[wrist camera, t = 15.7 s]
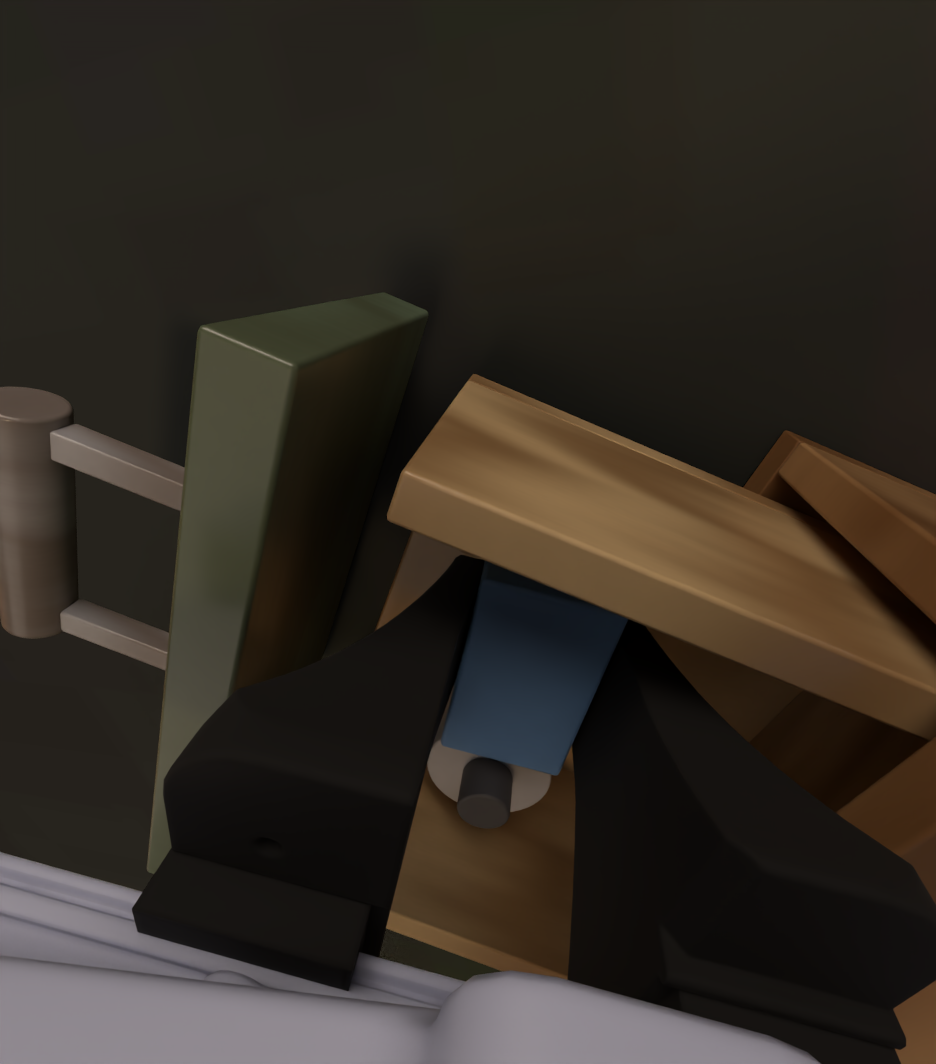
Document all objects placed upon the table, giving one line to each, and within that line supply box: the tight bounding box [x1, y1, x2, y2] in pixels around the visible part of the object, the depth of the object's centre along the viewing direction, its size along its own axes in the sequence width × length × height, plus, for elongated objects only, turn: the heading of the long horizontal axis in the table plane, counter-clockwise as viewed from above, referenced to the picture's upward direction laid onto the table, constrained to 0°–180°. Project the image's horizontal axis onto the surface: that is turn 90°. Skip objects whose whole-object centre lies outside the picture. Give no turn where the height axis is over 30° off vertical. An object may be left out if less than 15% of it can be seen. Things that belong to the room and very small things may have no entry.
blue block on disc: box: [427, 561, 628, 829], centre depth 12 cm, size 7×3×4 cm, turn 169°
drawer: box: [0, 293, 936, 980], centre depth 12 cm, size 20×13×7 cm, turn 69°
